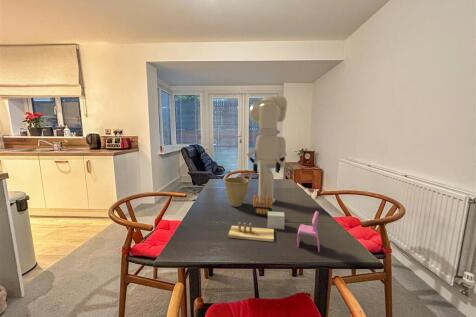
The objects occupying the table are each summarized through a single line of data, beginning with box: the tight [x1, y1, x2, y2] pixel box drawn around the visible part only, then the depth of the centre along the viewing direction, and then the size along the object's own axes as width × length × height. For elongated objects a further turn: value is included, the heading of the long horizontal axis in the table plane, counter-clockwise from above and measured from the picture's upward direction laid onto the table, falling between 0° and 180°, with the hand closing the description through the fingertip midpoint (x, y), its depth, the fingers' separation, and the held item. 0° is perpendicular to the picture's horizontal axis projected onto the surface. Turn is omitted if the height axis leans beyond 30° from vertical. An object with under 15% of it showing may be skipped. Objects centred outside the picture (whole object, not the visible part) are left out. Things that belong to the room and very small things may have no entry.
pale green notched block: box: [266, 211, 286, 230], centre depth 103 cm, size 5×8×6 cm, turn 81°
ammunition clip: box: [252, 193, 273, 217], centre depth 115 cm, size 11×2×12 cm, turn 77°
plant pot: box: [223, 176, 249, 208], centre depth 130 cm, size 15×15×16 cm
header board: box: [227, 221, 275, 242], centre depth 95 cm, size 9×20×5 cm, turn 81°
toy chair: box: [296, 210, 320, 253], centre depth 85 cm, size 8×9×15 cm
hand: (266, 172), depth 91 cm, fingers open, 9 cm apart
